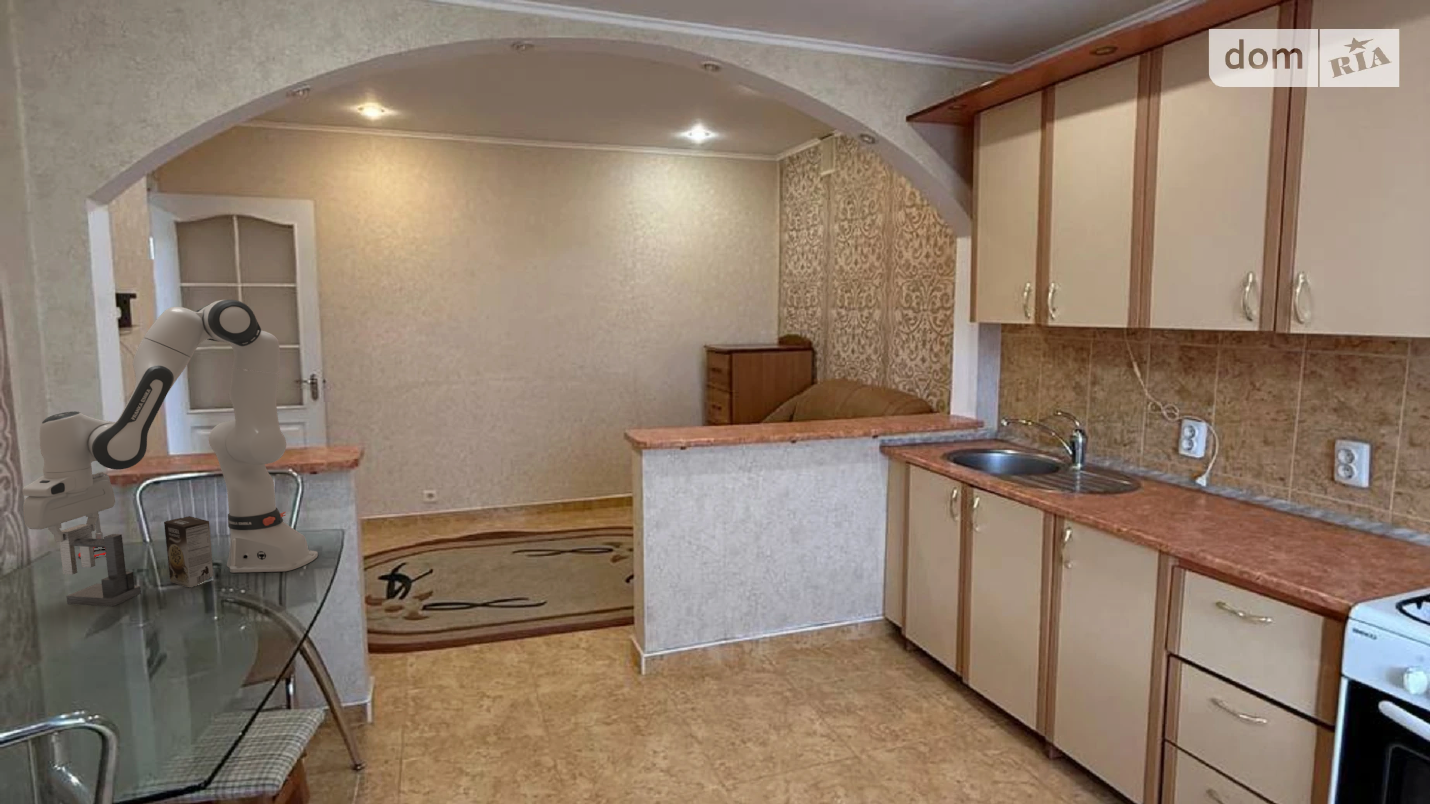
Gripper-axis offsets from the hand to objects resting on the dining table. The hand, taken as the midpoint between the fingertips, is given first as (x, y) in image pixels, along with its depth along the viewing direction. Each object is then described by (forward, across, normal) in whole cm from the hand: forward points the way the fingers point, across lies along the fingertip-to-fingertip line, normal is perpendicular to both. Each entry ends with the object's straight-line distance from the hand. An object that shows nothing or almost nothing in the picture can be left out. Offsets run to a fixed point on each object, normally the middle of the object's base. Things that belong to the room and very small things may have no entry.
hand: (75, 536), depth 186 cm
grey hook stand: (+15, 0, +5) cm, 16 cm away
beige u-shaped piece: (+8, 0, 0) cm, 8 cm away
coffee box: (+16, -13, +18) cm, 27 cm away
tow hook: (+16, -29, -25) cm, 41 cm away
